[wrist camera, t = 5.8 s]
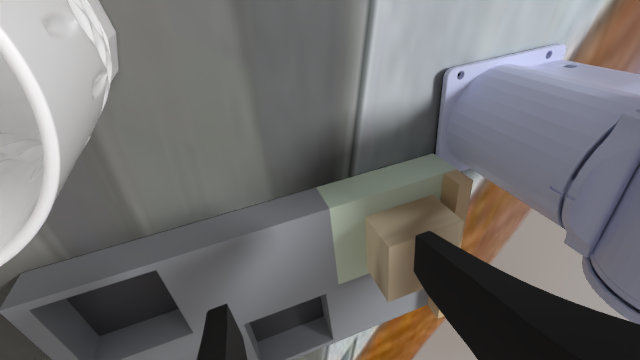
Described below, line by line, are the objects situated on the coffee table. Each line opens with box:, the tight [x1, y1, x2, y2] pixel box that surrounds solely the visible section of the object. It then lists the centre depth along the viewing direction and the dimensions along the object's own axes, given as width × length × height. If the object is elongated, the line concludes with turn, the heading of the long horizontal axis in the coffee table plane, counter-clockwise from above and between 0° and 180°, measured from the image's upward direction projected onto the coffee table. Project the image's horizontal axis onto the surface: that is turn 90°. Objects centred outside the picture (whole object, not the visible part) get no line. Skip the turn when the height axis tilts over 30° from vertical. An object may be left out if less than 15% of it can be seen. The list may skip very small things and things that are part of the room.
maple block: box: [365, 195, 464, 303], centre depth 21 cm, size 5×5×3 cm
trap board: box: [0, 153, 473, 360], centre depth 22 cm, size 26×14×4 cm, turn 96°
